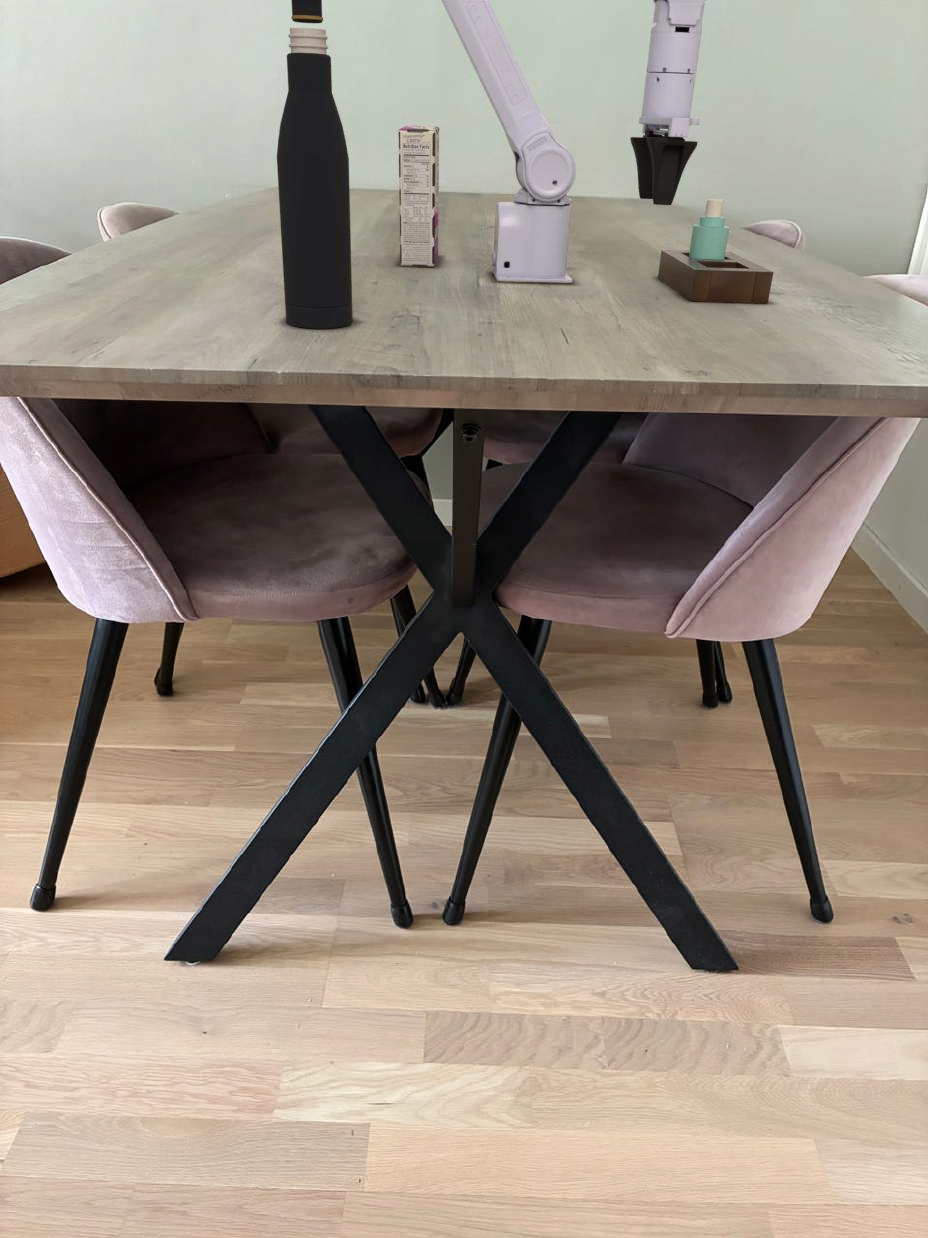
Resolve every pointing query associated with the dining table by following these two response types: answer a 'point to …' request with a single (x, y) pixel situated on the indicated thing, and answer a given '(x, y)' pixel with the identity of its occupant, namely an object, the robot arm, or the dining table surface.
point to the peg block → (715, 278)
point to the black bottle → (313, 184)
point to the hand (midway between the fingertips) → (654, 201)
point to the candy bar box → (419, 195)
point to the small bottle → (710, 233)
